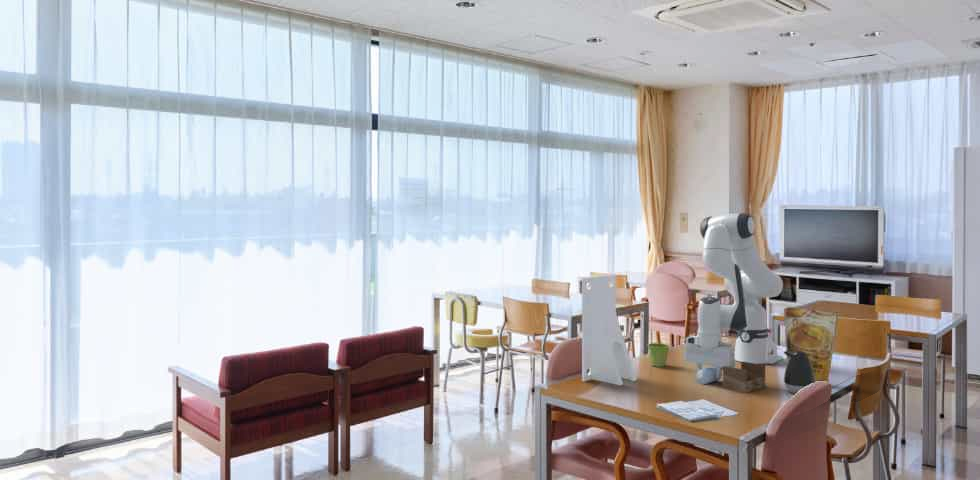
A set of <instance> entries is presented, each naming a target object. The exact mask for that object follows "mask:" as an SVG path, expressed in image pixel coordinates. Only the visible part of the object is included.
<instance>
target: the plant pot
mask: <svg viewBox="0 0 980 480" xmlns="http://www.w3.org/2000/svg"><path fill="white" fill-rule="evenodd" d="M647 347H648V351H649V357H650V359H649V360H650V364H651V366H654V367H659V368H662V367H666V366H667V362H668V361H667V360H668V356H669V355H668V354H669V349H670V348H671V345H670V344H667V343H661V342H659V343H658V342H653V343H647Z"/></svg>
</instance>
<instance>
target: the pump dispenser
mask: <svg viewBox="0 0 980 480" xmlns="http://www.w3.org/2000/svg"><path fill="white" fill-rule="evenodd" d="M783 353H784V355H786V357H787V356H789V357H790V358H789V360H788V363H787V362H786V365H785V370H784V376H783V382H784V385H785V388H786V389H787V390H788V391H789V392H790V393H791V394H794V395H796V394H795V393H797V392H798V391H799V390H800V389H802V388H804V387H805V386H807V385H809V384H811V383H814V382H815V377H814V371H813V367H812V364H811V362H810V359H809V357H808V355H807V354H806V353H805V352H803V351H800V350H798V351H795V352H793V353H792V354H791V353H789V352H787V351H784V352H783Z"/></svg>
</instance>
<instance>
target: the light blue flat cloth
mask: <svg viewBox="0 0 980 480" xmlns="http://www.w3.org/2000/svg"><path fill="white" fill-rule="evenodd" d="M655 408H658V409H660V410H662V411H664V412H667V413H669V414H672V415H674V416H676V417H678V418H681V419H683V420H685V421H688V422H689V423H690V422H691V423H692V422H697V421H703V420H710V419H720V418H726V417H725V416H727V417H733V416H739V415H740V413H739V412H736V411H734V410H732V409H728V408H726V407H723V406H721V405H718V404H715V403H714V402H710V401H709V400H706V399H705V398H702V399H697V400H693V401H684V400H679V401H670V402H667V403H656V406H655Z"/></svg>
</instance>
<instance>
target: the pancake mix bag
mask: <svg viewBox="0 0 980 480" xmlns="http://www.w3.org/2000/svg"><path fill="white" fill-rule="evenodd" d="M783 311H784V324H785V325H784V327H785V328H784V332H785V349H786V351H787V352H789V353H791V354H792V353H793V352H795V351H798V350H800V351H803V352H805V353H806V354H807V355H808V357H809V359H810V362H811V364H812V367H813V371H814V377H815V382H816V381H827V382H829V383H830V381H829V375H830V373H831V367H832V359H833V353H834V348H835V343H836V334H837V325H838V319H839V317H838V314H837V313H835V312H834V311H833V310H823V309H814V308H807V307H806V308H805V307H792V306H788V307H785V308H784V309H783ZM789 358H790V357H789V356H787V355H786V364H787V363H788V360H789Z"/></svg>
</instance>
